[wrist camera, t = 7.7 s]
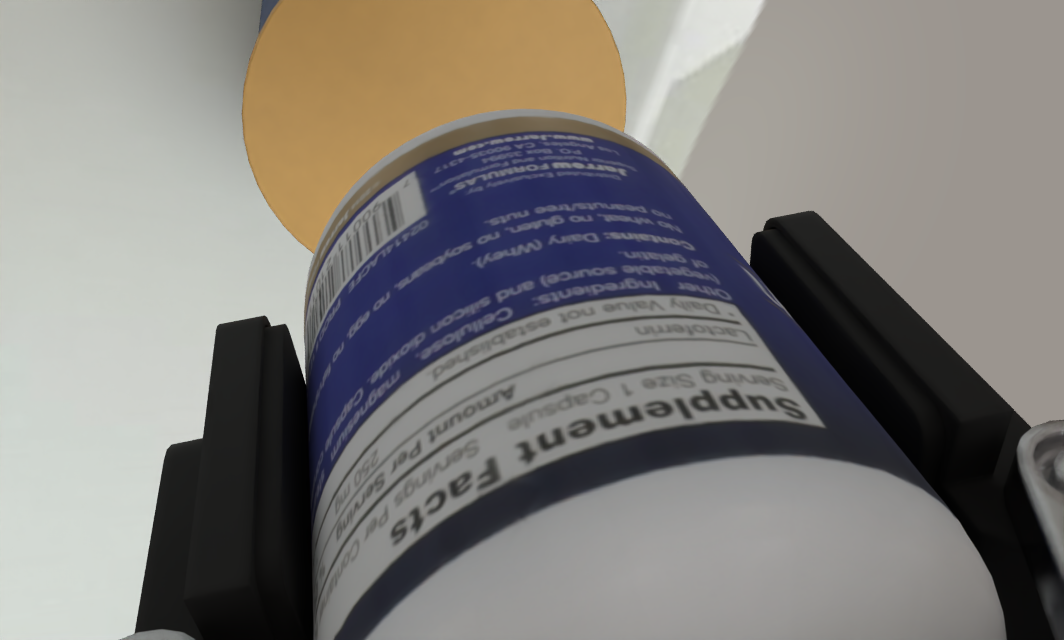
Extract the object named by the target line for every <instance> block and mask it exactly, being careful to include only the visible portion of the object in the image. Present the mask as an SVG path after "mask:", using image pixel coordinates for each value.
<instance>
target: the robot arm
mask: <svg viewBox="0 0 1064 640" xmlns="http://www.w3.org/2000/svg"><path fill="white" fill-rule="evenodd" d="M750 267H751V268H752V269H753V270H754V271H755V273H756V274H757V275H758V276H759V278H760V279H761V280H762V281H763V283H764V284H765V285H766V286H767V287H768V289H769V290H770V291H771V292H772V294H773V295H774V296H775V297H776V298H777V299H778V301H779V302H780V303H781V304H782V305H783V307H784V308H785V309H786V310H787V312H788V313H789V314H790V315H791V317H792V318H793V319H794V320H795V322H796V323H797V324H798V325H799V326H800V327H801V329H802V330H803V331H804V332H805V333H806V334H807V336H808V337H809V338H810V339H811V341H812V342H813V343H814V344H815V346H816V347H817V348H818V349H819V351H820V352H821V353H822V354H823V356H824V357H825V358H826V359H827V361H828V362H829V363H830V364H831V365H832V367H833V368H834V369H835V370H836V372H837V373H838V374H839V375H840V376H841V378H842V379H843V380H844V381H845V383H846V384H847V385H848V386H849V387H850V389H851V390H852V391H853V392H854V393H855V395H856V396H857V397H858V398H859V399H860V401H861V402H862V403H863V404H864V405H865V407H866V408H867V409H868V410H869V411H870V413H871V414H872V415H873V416H874V417H875V419H876V420H877V421H878V422H879V424H880V425H881V426H882V427H883V428H884V430H885V431H886V432H887V433H888V434H889V436H890V437H891V438H892V439H893V441H894V442H895V443H896V444H897V445H898V447H899V448H900V449H901V450H902V451H903V453H904V454H905V455H906V456H907V458H908V459H909V460H910V461H911V463H912V464H913V465H914V466H915V467H916V469H917V470H918V471H919V472H920V474H921V475H922V476H923V477H924V479H925V480H926V481H927V482H928V484H929V485H930V486H931V487H932V488H933V490H934V491H935V492H936V493H937V494H938V495H939V497H940V498H941V499H942V500H943V501H944V503H945V504H946V505H947V506H948V508H949V509H950V510H951V511H952V513H953V514H954V515H955V516H956V518H957V519H958V520H959V522H960V523H961V525H962V527H963V529H964V530H965V532H966V534H967V535H968V537H969V538H970V540H971V541H972V543H973V545H974V546H975V548H976V549H977V551H978V552H979V554H980V556H981V558H982V560H983V561H984V563H985V565H986V567H987V569H988V571H989V572H990V574H991V576H992V579H993V582H994V585H995V588H996V591H997V595H998V598H999V601H1000V604H1001V607H1002V610H1003V615H1004V621H1005V630H1006V638H1007V640H1064V420H1056V421H1049V422H1046V423H1043V424H1040V425H1037V426H1034V427H1032V428H1031V427H1030V426H1029V425H1028V424H1027V423H1026V422H1025V421H1024V420H1023V419H1022V418H1021V417H1020V416H1019V415H1018V414H1017V413H1016V412H1015V411H1014V409H1013V408H1012V407H1011V406H1010V405H1009V404H1008V403H1007V402H1006V401H1005V400H1004V399H1003V398H1002V397H1001V396H1000V395H999V394H997V392H996V391H995V390H994V389H993V388H992V387H991V386H989V384H988V383H987V382H986V381H985V380H983V378H982V377H981V376H980V375H979V374H978V373H977V372H976V371H975V370H974V369H973V368H971V366H970V365H969V364H968V363H967V362H966V361H965V360H964V359H963V358H962V357H960V355H958V354H957V353H956V351H955V350H953V348H952V347H951V346H950V345H948V343H946V341H944V339H943V338H942V337H941V336H940V335H938V334H937V332H936V331H935V330H934V329H933V328H932V327H931V326H930V325H929V324H928V323H927V322H925V320H924V319H922V317H921V316H920V315H919V314H917V312H916V311H914V310H913V309H912V307H911V306H909V304H908V303H906V301H904V299H903V298H901V297H900V296H899V295H898V294H897V293H896V292H895V291H894V290H893V289H892V288H891V287H890V286H889V285H888V284H887V283H886V282H885V281H884V280H883V279H882V278H881V277H880V276H879V275H878V274H877V273H876V272H875V271H874V270H873V269H872V268H871V267H870V266H869V265H868V264H867V263H866V262H865V261H864V260H863V259H862V258H861V257H860V256H859V255H858V254H857V253H856V252H855V251H854V250H853V249H852V248H851V247H850V246H849V245H848V244H847V243H846V242H845V241H844V240H843V239H842V238H841V237H840V236H839V235H838V234H837V233H836V232H835V231H834V230H833V229H832V228H831V227H830V226H829V225H828V224H827V223H826V222H825V221H824V220H823V219H822V218H821V217H820V216H819V215H818V214H817V213H815V212H814V211H806V212H801V213H796V214H791V215H786V216H780V217H775V218H770V219H769V220H768V221H766V224H765V226H764V229H763V231H761V232H757V233H756V234H754V236H753V238H752V245H751V257H750ZM120 640H313V589H312V552H311V511H310V478H309V449H308V423H307V398H306V384H305V380H304V377H303V374H302V371H301V368H300V364H299V361H298V358H297V355H296V351H295V348H294V345H293V342H292V339H291V335H290V333H289V330H288V328H287V325H286V324H282V325H277V326H271V325H270V322H269V320H268V319H267V317H266V316H260V317H255V318H250V319H245V320H239V321H234V322H229V323H224V324H219V325H218V326H217V329H216V336H215V344H214V352H213V360H212V368H211V377H210V385H209V393H208V401H207V409H206V417H205V426H204V434H203V438H202V439H197V440H192V441H187V442H182V443H177V444H173V445H171V446H170V447H169V448H168V449H167V451H166V455H165V458H164V463H163V469H162V475H161V481H160V487H159V493H158V498H157V504H156V510H155V516H154V522H153V528H152V534H151V540H150V546H149V552H148V557H147V563H146V569H145V575H144V581H143V587H142V593H141V599H140V605H139V611H138V616H137V622H136V628H135V634H133V635H130V636H127V637H125V638H122V639H120Z"/></svg>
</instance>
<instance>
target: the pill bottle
mask: <svg viewBox="0 0 1064 640" xmlns="http://www.w3.org/2000/svg"><path fill="white" fill-rule="evenodd" d="M304 342H305V372H306V398H307V423H308V449H309V478H310V511H311V552H312V589H313V640H1007V638H1006V630H1005V621H1004V615H1003V610H1002V607H1001V604H1000V601H999V598H998V595H997V591H996V588H995V585H994V582H993V579H992V576H991V574H990V572H989V571H988V569H987V567H986V565H985V563H984V561H983V560H982V558H981V556H980V554H979V552H978V551H977V549H976V548H975V546H974V545H973V543H972V541H971V540H970V538H969V537H968V535H967V534H966V532H965V530H964V529H963V527H962V525H961V523H960V522H959V520H958V519H957V518H956V516H955V515H954V514H953V513H952V511H951V510H950V509H949V508H948V506H947V505H946V504H945V503H944V501H943V500H942V499H941V498H940V497H939V495H938V494H937V493H936V492H935V491H934V490H933V488H932V487H931V486H930V485H929V484H928V482H927V481H926V480H925V479H924V477H923V476H922V475H921V474H920V472H919V471H918V470H917V469H916V467H915V466H914V465H913V464H912V463H911V461H910V460H909V459H908V458H907V456H906V455H905V454H904V453H903V451H902V450H901V449H900V448H899V447H898V445H897V444H896V443H895V442H894V441H893V439H892V438H891V437H890V436H889V434H888V433H887V432H886V431H885V430H884V428H883V427H882V426H881V425H880V424H879V422H878V421H877V420H876V419H875V417H874V416H873V415H872V414H871V413H870V411H869V410H868V409H867V408H866V407H865V405H864V404H863V403H862V402H861V401H860V399H859V398H858V397H857V396H856V395H855V393H854V392H853V391H852V390H851V389H850V387H849V386H848V385H847V384H846V383H845V381H844V380H843V379H842V378H841V376H840V375H839V374H838V373H837V372H836V370H835V369H834V368H833V367H832V365H831V364H830V363H829V362H828V361H827V359H826V358H825V357H824V356H823V354H822V353H821V352H820V351H819V349H818V348H817V347H816V346H815V344H814V343H813V342H812V341H811V339H810V338H809V337H808V336H807V334H806V333H805V332H804V331H803V330H802V329H801V327H800V326H799V325H798V324H797V323H796V322H795V320H794V319H793V318H792V317H791V315H790V314H789V313H788V312H787V310H786V309H785V308H784V307H783V305H782V304H781V303H780V302H779V301H778V299H777V298H776V297H775V296H774V295H773V294H772V292H771V291H770V290H769V289H768V287H767V286H766V285H765V284H764V283H763V281H762V280H761V279H760V278H759V276H758V275H757V274H756V273H755V271H754V270H753V269H752V268H751V267H750V265H749V264H748V263H747V262H746V260H745V259H744V258H743V257H742V256H741V254H740V253H739V252H738V251H737V249H736V248H735V247H734V246H733V245H732V243H731V242H730V241H729V239H728V238H727V237H726V236H725V235H724V233H723V232H722V231H721V230H720V228H719V227H718V226H717V225H716V224H715V222H714V221H713V220H712V219H711V218H710V216H709V215H708V214H707V213H706V212H705V210H704V209H703V208H702V207H701V205H700V204H699V203H698V202H697V201H696V199H695V198H694V197H693V196H692V194H691V193H690V192H689V191H688V189H687V188H686V187H685V186H684V185H683V184H682V183H681V181H680V180H679V179H678V178H677V177H676V176H675V174H674V173H673V172H672V171H671V170H670V169H669V167H668V166H667V165H666V164H665V163H664V162H663V161H662V160H661V159H660V158H659V157H658V156H657V155H656V154H655V153H654V152H653V151H651V150H650V149H649V148H647V147H646V146H644V145H643V144H642V143H640V142H639V141H637V140H636V139H634V138H633V137H631V136H629V135H627V134H625V133H623V132H621V131H620V130H618V129H616V128H613V127H611V126H609V125H606V124H604V123H602V122H599V121H596V120H593V119H590V118H586V117H583V116H579V115H574V114H570V113H565V112H559V111H550V110H542V109H511V110H500V111H492V112H486V113H480V114H476V115H472V116H468V117H464V118H460V119H458V120H455V121H452V122H449V123H446V124H443V125H441V126H438V127H436V128H433V129H431V130H429V131H427V132H425V133H423V134H421V135H419V136H417V137H415V138H413V139H411V140H410V141H408V142H406V143H404V144H403V145H401V146H400V147H398V148H397V149H395V150H394V151H392V152H391V153H389V154H388V155H386V156H385V157H384V158H382V159H381V160H380V161H379V162H378V163H376V164H375V165H374V166H373V167H371V168H370V169H369V170H368V171H367V172H366V173H365V174H364V175H363V176H362V177H361V178H360V179H359V180H358V181H357V182H356V183H355V184H354V185H353V187H352V188H351V189H350V190H349V192H348V193H347V194H346V195H345V196H344V198H343V199H342V201H341V202H340V203H339V205H338V206H337V208H336V209H335V211H334V213H333V214H332V216H331V218H330V220H329V221H328V223H327V225H326V226H325V229H324V231H323V233H322V235H321V238H320V240H319V242H318V245H317V247H316V250H315V253H314V255H313V258H312V262H311V265H310V269H309V273H308V280H307V287H306V295H305V309H304Z"/></svg>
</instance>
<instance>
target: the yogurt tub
mask: <svg viewBox="0 0 1064 640" xmlns="http://www.w3.org/2000/svg"><path fill="white" fill-rule="evenodd" d="M511 109H542V110H550V111H559V112H565V113H570V114H574V115H579V116H583V117H586V118H590V119H593V120H596V121H599V122H602V123H604V124H606V125H609V126H611V127H613V128H616V129H618V130H620V131H621V132H624V127H625V117H626V90H625V79H624V73H623V68H622V64H621V60H620V55H619V52H618V49H617V46H616V44H615V41H614V39H613V36H612V33H611V31H610V29H609V27H608V25H607V23H606V21H605V20H604V18H603V16H602V14H601V12H600V11H599V9H598V7H597V6H596V5H595V3H594V2H593V1H592V0H262V8H261V17H260V26H259V35H258V38H257V40H256V43H255V46H254V48H253V51H252V54H251V56H250V59H249V64H248V69H247V73H246V78H245V82H244V90H243V105H242V122H243V135H244V142H245V146H246V151H247V155H248V160H249V164H250V166H251V169H252V171H253V174H254V177H255V179H256V182H257V185H258V187H259V189H260V190H261V192H262V194H263V196H264V198H265V200H266V201H267V203H268V205H269V207H270V208H271V209H272V211H273V212H274V214H275V215H276V216H277V218H278V219H279V220H280V222H281V223H282V224H283V226H284V227H285V228H286V229H287V230H288V231H289V232H290V233H291V234H292V235H293V236H294V237H295V238H296V239H297V240H298V241H299V242H300V243H301V244H302V245H304V246H305V247H306V248H307V249H309V250H310V251H311V252H312V253H315V250H316V247H317V245H318V242H319V240H320V238H321V235H322V233H323V231H324V229H325V226H326V225H327V223H328V221H329V220H330V218H331V216H332V214H333V213H334V211H335V209H336V208H337V206H338V205H339V203H340V202H341V201H342V199H343V198H344V196H345V195H346V194H347V193H348V192H349V190H350V189H351V188H352V187H353V185H354V184H355V183H356V182H357V181H358V180H359V179H360V178H361V177H362V176H363V175H364V174H365V173H366V172H367V171H368V170H369V169H370V168H371V167H373V166H374V165H375V164H376V163H378V162H379V161H380V160H381V159H382V158H384V157H385V156H386V155H388V154H389V153H391V152H392V151H394V150H395V149H397V148H398V147H400V146H401V145H403V144H404V143H406V142H408V141H410V140H411V139H413V138H415V137H417V136H419V135H421V134H423V133H425V132H427V131H429V130H431V129H433V128H436V127H438V126H441V125H443V124H446V123H449V122H452V121H455V120H458V119H460V118H464V117H468V116H472V115H476V114H480V113H486V112H492V111H500V110H511Z"/></svg>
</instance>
